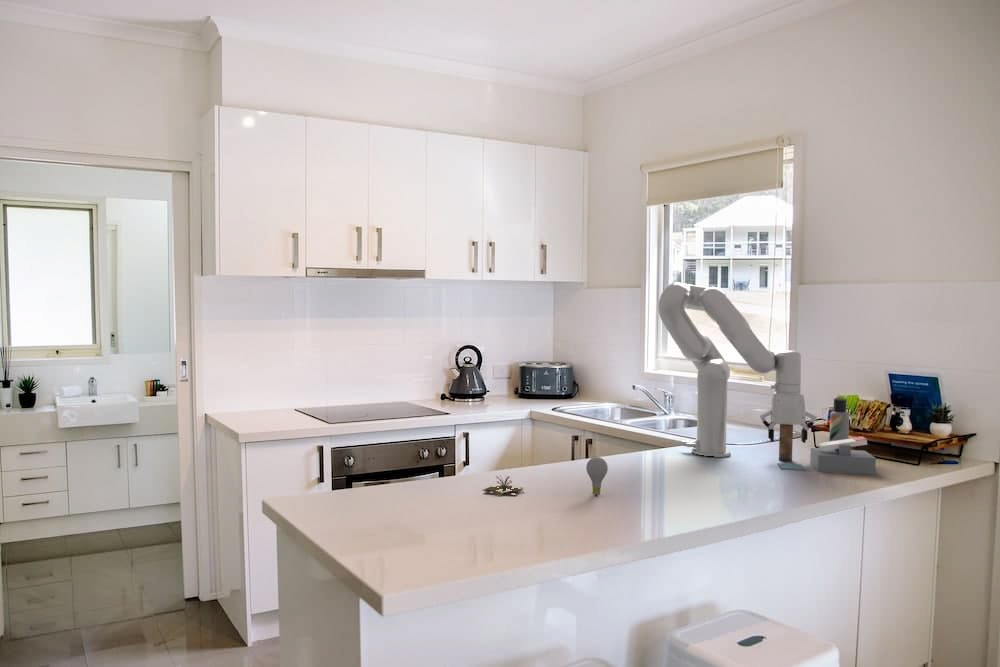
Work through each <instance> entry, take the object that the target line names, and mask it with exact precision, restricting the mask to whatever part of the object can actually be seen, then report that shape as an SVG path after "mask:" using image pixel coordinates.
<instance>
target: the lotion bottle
mask: <svg viewBox="0 0 1000 667" xmlns="http://www.w3.org/2000/svg"><path fill="white" fill-rule="evenodd" d="M847 401H848V400H847V399H846V398H844V397H838V396H837V397H834V398H833V409H832V410H833V411H831V412H830V414H829V415H830V416H829V419H830V420H829V441H828V442H830V441H837V440H844V439H850V438H849V431H850V413H849V412H848V411H847V404H848V403H847Z"/></svg>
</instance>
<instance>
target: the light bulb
mask: <svg viewBox="0 0 1000 667" xmlns="http://www.w3.org/2000/svg"><path fill="white" fill-rule="evenodd" d="M585 466H586V468H585V469H586V473H587V474H588V476H589V478H590V480H591V487H592V494H593V495H594V496H595V495H598V496H599V495H601V488H602V482H603V480H604V478H605V477H606V475H607V473H608V469H609V468H608V467H609V466H608V463H607V461H606V460H605V459H604V458H602V457H599V456H596V457H592V458H590V459H589V460H588V462H587V463H586V465H585Z"/></svg>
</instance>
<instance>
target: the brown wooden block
mask: <svg viewBox="0 0 1000 667" xmlns="http://www.w3.org/2000/svg"><path fill="white" fill-rule="evenodd" d="M793 436H794V425H784V424H779V439H778V441H779V443H778V444H779V446H778V460H779V462H783V463H790V462H793V445H794V444H793V439H794V437H793Z"/></svg>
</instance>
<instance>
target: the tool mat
mask: <svg viewBox="0 0 1000 667" xmlns="http://www.w3.org/2000/svg"><path fill="white" fill-rule="evenodd" d="M777 466H778V467H779V469H781V470H786V471H787V470H790V471H791V470H792V471H806V468H805V466H804V465H803V464H801V463H789V462H777Z"/></svg>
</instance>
